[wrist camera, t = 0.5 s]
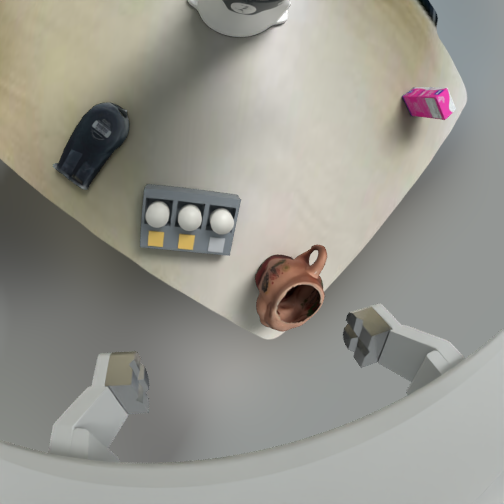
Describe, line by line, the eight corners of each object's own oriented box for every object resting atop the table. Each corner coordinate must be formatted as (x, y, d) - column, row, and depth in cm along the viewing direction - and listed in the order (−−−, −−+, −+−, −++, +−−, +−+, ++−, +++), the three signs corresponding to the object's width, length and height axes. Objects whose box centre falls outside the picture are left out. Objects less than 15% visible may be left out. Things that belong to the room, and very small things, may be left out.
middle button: (179, 203, 45) (179, 207, 43) (202, 205, 47) (203, 209, 44) (177, 224, 47) (176, 229, 45) (199, 226, 48) (199, 232, 46)
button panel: (147, 183, 45) (144, 188, 42) (237, 194, 50) (241, 200, 47) (142, 239, 50) (139, 247, 47) (226, 247, 55) (229, 256, 52)
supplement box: (413, 86, 47) (448, 87, 37) (422, 106, 50) (457, 110, 40) (400, 95, 47) (436, 97, 37) (410, 116, 50) (445, 121, 40)
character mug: (277, 216, 54) (304, 245, 42) (322, 236, 59) (355, 266, 47) (235, 295, 61) (249, 338, 49) (280, 307, 65) (301, 347, 53)
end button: (148, 199, 44) (146, 203, 41) (170, 202, 45) (170, 206, 43) (146, 221, 45) (144, 226, 43) (168, 223, 46) (167, 228, 44)
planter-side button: (211, 206, 47) (212, 211, 45) (233, 209, 48) (236, 214, 46) (207, 227, 49) (209, 233, 46) (229, 230, 50) (231, 235, 48)
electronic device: (97, 187, 45) (141, 121, 40) (82, 196, 40) (128, 122, 35) (65, 160, 41) (105, 93, 37) (49, 166, 36) (90, 92, 32)
